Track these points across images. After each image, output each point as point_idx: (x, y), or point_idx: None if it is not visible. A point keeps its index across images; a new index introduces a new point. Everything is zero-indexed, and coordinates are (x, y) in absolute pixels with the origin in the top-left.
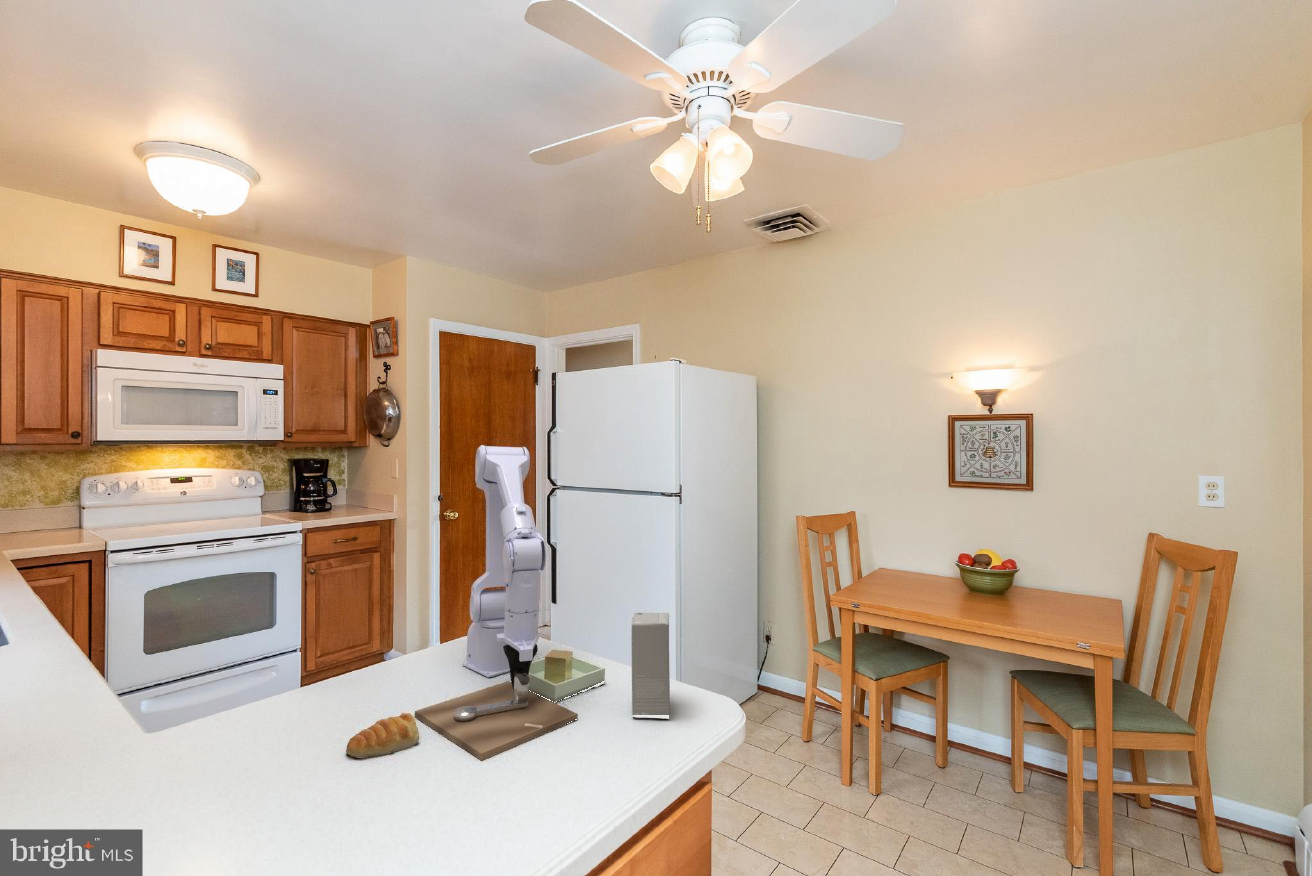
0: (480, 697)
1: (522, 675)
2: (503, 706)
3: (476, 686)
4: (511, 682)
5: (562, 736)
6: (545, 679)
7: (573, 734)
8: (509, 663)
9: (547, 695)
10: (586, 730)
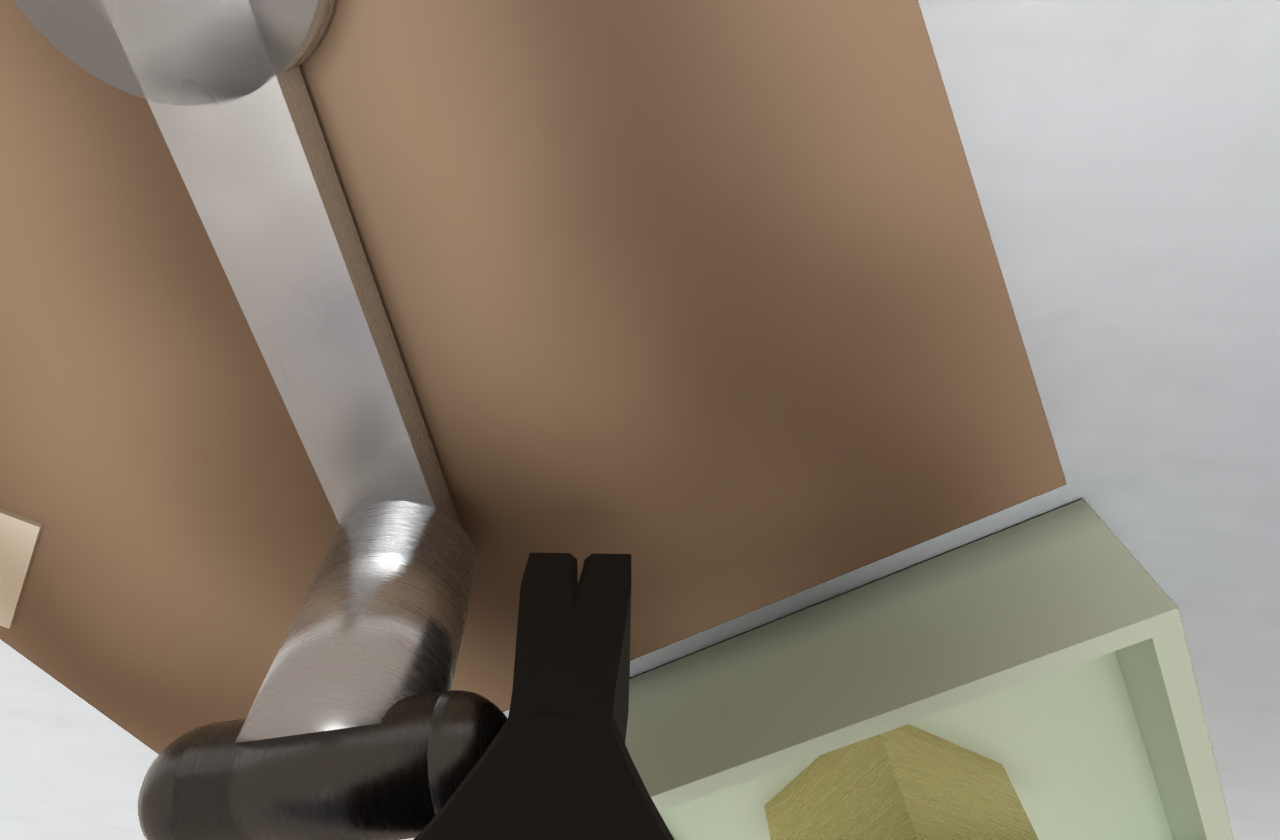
0: (754, 176)
1: (183, 828)
2: (285, 402)
3: (1237, 154)
4: (564, 586)
5: (4, 681)
6: (875, 748)
7: (43, 734)
8: (444, 807)
9: (637, 703)
10: (108, 793)
